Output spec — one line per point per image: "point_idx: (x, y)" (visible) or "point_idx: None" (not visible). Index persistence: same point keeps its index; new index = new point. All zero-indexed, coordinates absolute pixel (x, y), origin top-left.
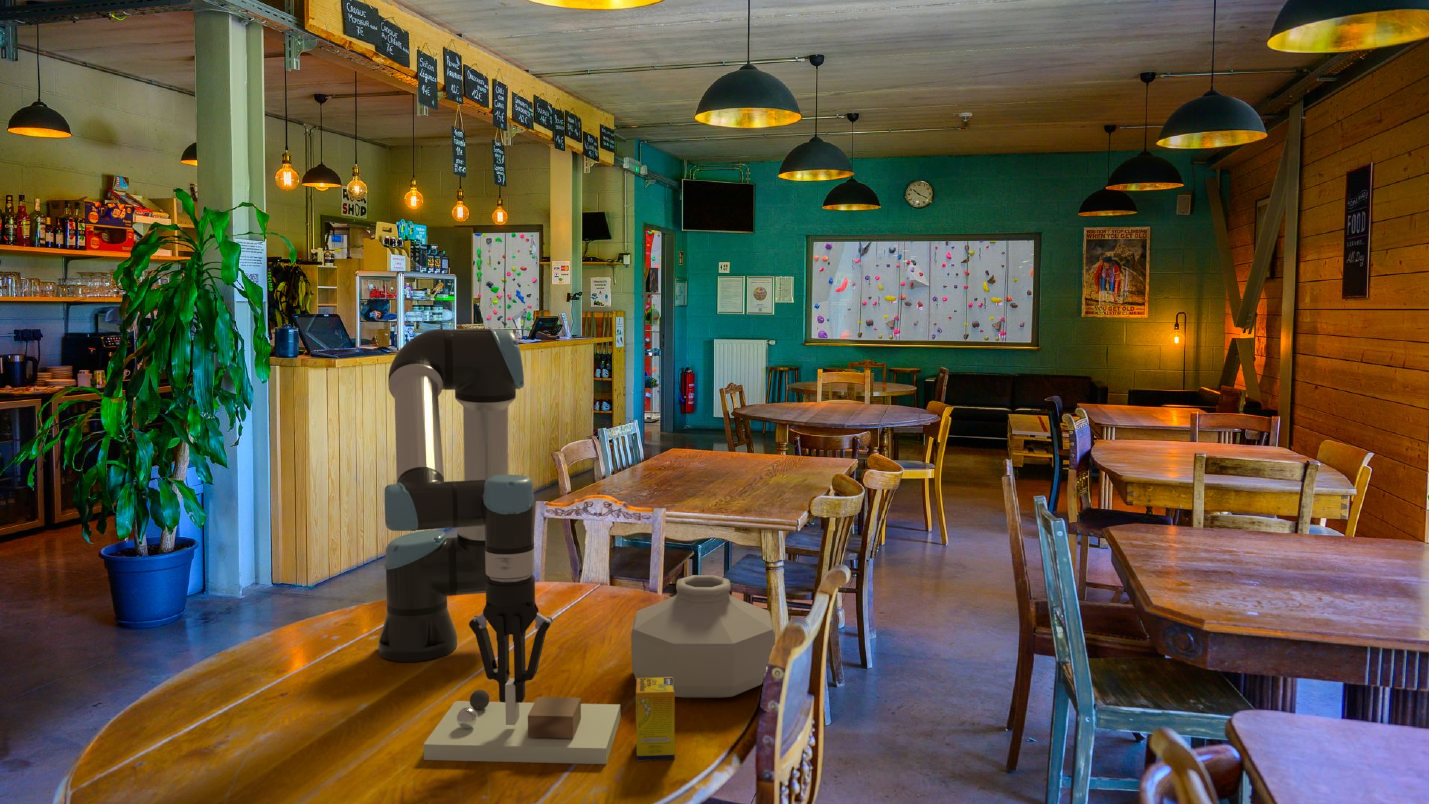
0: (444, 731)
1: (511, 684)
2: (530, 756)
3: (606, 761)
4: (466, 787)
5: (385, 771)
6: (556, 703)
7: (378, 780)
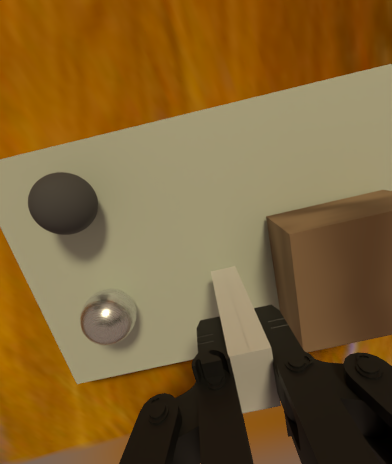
0: (78, 329)
1: (265, 403)
2: None
3: None
4: None
5: (55, 400)
6: (366, 263)
7: (67, 422)
